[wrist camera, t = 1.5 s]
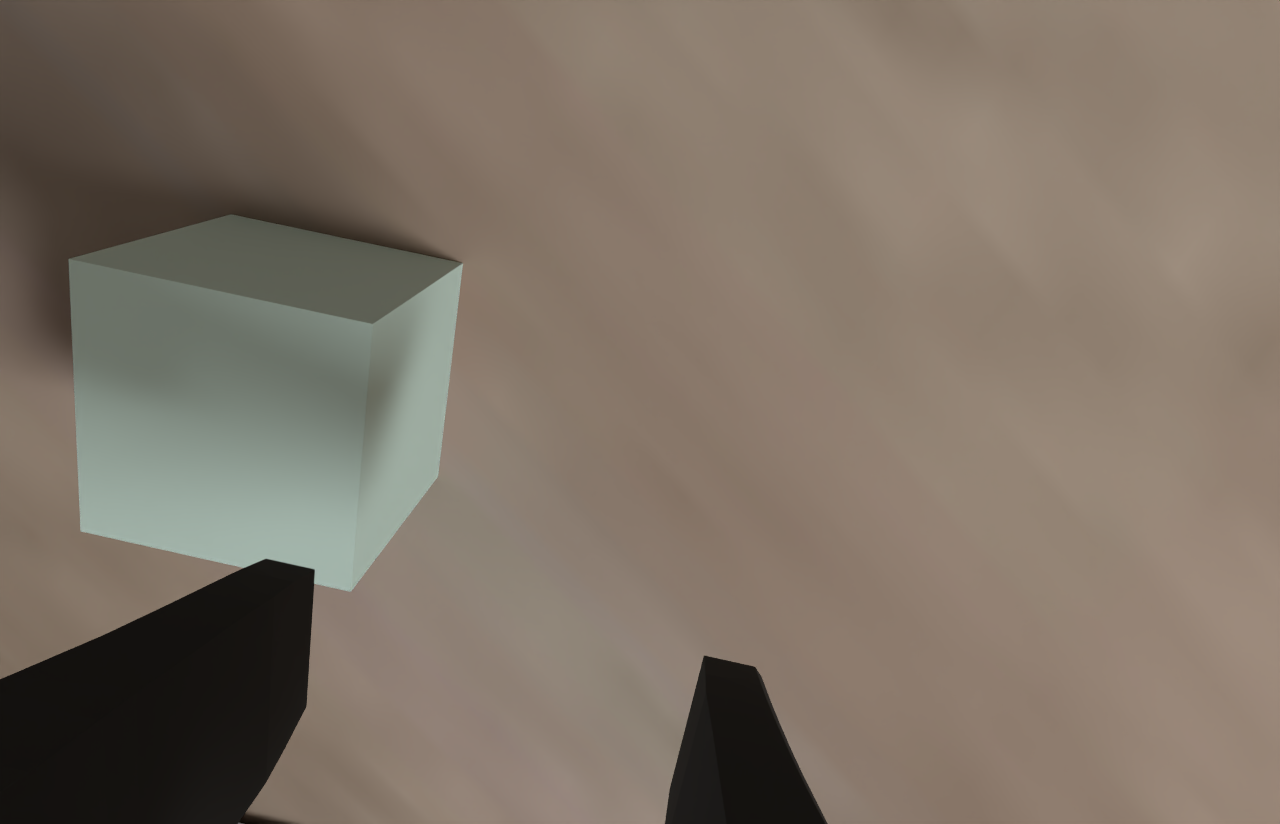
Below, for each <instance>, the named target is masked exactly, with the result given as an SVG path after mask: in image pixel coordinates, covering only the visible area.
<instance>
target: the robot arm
mask: <svg viewBox="0 0 1280 824" xmlns="http://www.w3.org/2000/svg"><path fill="white" fill-rule="evenodd" d="M314 577H315V569H311V568H306V567H302V566H297V565H293V564H288V563H284V562H279V561H275V560H270V559H264V560H261V561H259V562H257V563H254V564H252V565H250V566H247V567H245V568H243V569H241V570H239V571H237V572H234V573H232V574H230V575H228V576H226V577H224V578H222V579H220V580H218V581H216V582H214V583H212V584H210V585H207V586H205V587H203V588H201V589H199V590H197V591H195V592H193V593H191V594H189V595H187V596H185V597H183V598H181V599H179V600H177V601H175V602H173V603H170V604H168V605H166V606H164V607H162V608H160V609H158V610H156V611H154V612H151V613H149V614H147V615H145V616H143V617H141V618H139V619H137V620H135V621H133V622H130V623H128V624H126V625H124V626H122V627H120V628H118V629H116V630H114V631H111V632H109V633H107V634H105V635H103V636H101V637H98V638H96V639H94V640H91V641H89V642H87V643H84V644H82V645H80V646H77V647H75V648H73V649H70V650H68V651H66V652H63V653H61V654H59V655H56V656H54V657H52V658H49V659H47V660H45V661H42V662H40V663H38V664H35V665H33V666H31V667H28V668H26V669H24V670H21V671H19V672H17V673H14V674H12V675H10V676H7V677H5V678H2V679H0V824H243V823H239V821H240V820H241V818H242V817H243V815H244V814H245V812H246V811H247V809H248V808H249V807H250V805H251V804H252V802H253V801H254V799H255V798H256V796H257V795H258V793H259V792H260V791H261V789H262V788H263V786H264V785H265V783H266V782H267V780H268V778H269V776H270V774H271V772H272V771H273V769H274V767H275V765H276V763H277V762H278V760H279V758H280V756H281V754H282V752H283V751H284V749H285V747H286V745H287V743H288V741H289V739H290V737H291V735H292V733H293V731H294V729H295V727H296V726H297V724H298V722H299V720H300V718H301V716H302V714H303V712H304V710H305V708H306V704H307V688H308V672H309V656H310V640H311V624H312V608H313V592H314ZM665 824H827V822H826V820H825V818H824V816H823V814H822V812H821V810H820V808H819V806H818V804H817V802H816V800H815V798H814V796H813V794H812V792H811V790H810V788H809V786H808V784H807V782H806V780H805V778H804V776H803V774H802V772H801V770H800V768H799V766H798V764H797V761H796V759H795V757H794V755H793V753H792V751H791V748H790V746H789V744H788V741H787V739H786V737H785V735H784V732H783V730H782V728H781V725H780V723H779V721H778V718H777V716H776V713H775V711H774V708H773V706H772V703H771V701H770V698H769V696H768V693H767V690H766V688H765V685H764V682H763V680H762V677H761V675H760V674H759V672H758V671H757V669H756V668H755V667H753V666H749V665H744V664H740V663H735V662H731V661H726V660H722V659H717V658H713V657H708V656H704V658H703V662H702V666H701V670H700V673H699V677H698V681H697V685H696V689H695V693H694V697H693V701H692V705H691V709H690V712H689V716H688V720H687V724H686V728H685V732H684V736H683V740H682V744H681V747H680V751H679V755H678V759H677V763H676V767H675V771H674V775H673V779H672V782H671V786H670V792H669V799H668V806H667V813H666V821H665Z"/></svg>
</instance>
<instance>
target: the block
mask: <svg viewBox="0 0 1280 824" xmlns="http://www.w3.org/2000/svg"><path fill="white" fill-rule="evenodd" d="M462 267H463V263H460V262H455V261H450V260H446V259H441V258H436V257H431V256H427V255H422V254H417V253H412V252H408V251H403V250H398V249H393V248H389V247H384V246H379V245H374V244H370V243H365V242H360V241H355V240H351V239H346V238H341V237H337V236H332V235H327V234H322V233H318V232H313V231H308V230H303V229H299V228H294V227H289V226H284V225H280V224H275V223H270V222H265V221H261V220H256V219H251V218H246V217H242V216H237V215H232V214H230V215H227V216H223V217H219V218H216V219H212V220H209V221H205V222H201V223H198V224H194V225H190V226H187V227H183V228H179V229H176V230H172V231H168V232H165V233H161V234H157V235H154V236H150V237H146V238H143V239H139V240H136V241H132V242H128V243H125V244H121V245H117V246H114V247H110V248H106V249H103V250H99V251H95V252H92V253H88V254H84V255H81V256H77V257H74V258H70V259H69V282H70V304H71V326H72V349H73V371H74V393H75V416H76V438H77V460H78V483H79V505H80V528H81V531H82V532H86V533H91V534H95V535H100V536H104V537H109V538H113V539H117V540H122V541H126V542H131V543H135V544H140V545H144V546H149V547H153V548H158V549H162V550H167V551H171V552H175V553H180V554H184V555H189V556H193V557H198V558H202V559H207V560H211V561H216V562H220V563H224V564H229V565H233V566H238V567H242V568H245V567H247V566H250V565H252V564H254V563H257V562H259V561H261V560H264V559H270V560H275V561H279V562H284V563H288V564H293V565H297V566H302V567H306V568H311V569H315V577H314V584H318V585H323V586H327V587H332V588H336V589H340V590H345V591H349V592H351V591H352V590H353V588H354V587H355V586H356V584H357V583H358V582H359V580H360V579H361V578H362V576H363V575H364V574H365V572H366V571H367V570H368V568H369V567H370V566H371V564H372V563H373V562H374V560H375V559H376V558H377V557H378V555H379V554H380V553H381V551H382V550H383V549H384V547H385V546H386V545H387V543H388V542H389V541H390V539H391V538H392V537H393V535H394V534H395V533H396V531H397V530H398V529H399V527H400V526H401V525H402V523H403V522H404V521H405V519H406V518H407V517H408V516H409V514H410V513H411V512H412V510H413V509H414V508H415V506H416V505H417V504H418V502H419V501H420V500H421V498H422V497H423V496H424V494H425V493H426V492H427V490H428V489H429V488H430V486H431V485H432V484H433V482H434V481H435V480H436V478H437V477H438V472H439V463H440V455H441V446H442V438H443V429H444V421H445V412H446V404H447V395H448V386H449V378H450V369H451V361H452V352H453V344H454V335H455V327H456V318H457V310H458V301H459V293H460V284H461V276H462Z"/></svg>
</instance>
